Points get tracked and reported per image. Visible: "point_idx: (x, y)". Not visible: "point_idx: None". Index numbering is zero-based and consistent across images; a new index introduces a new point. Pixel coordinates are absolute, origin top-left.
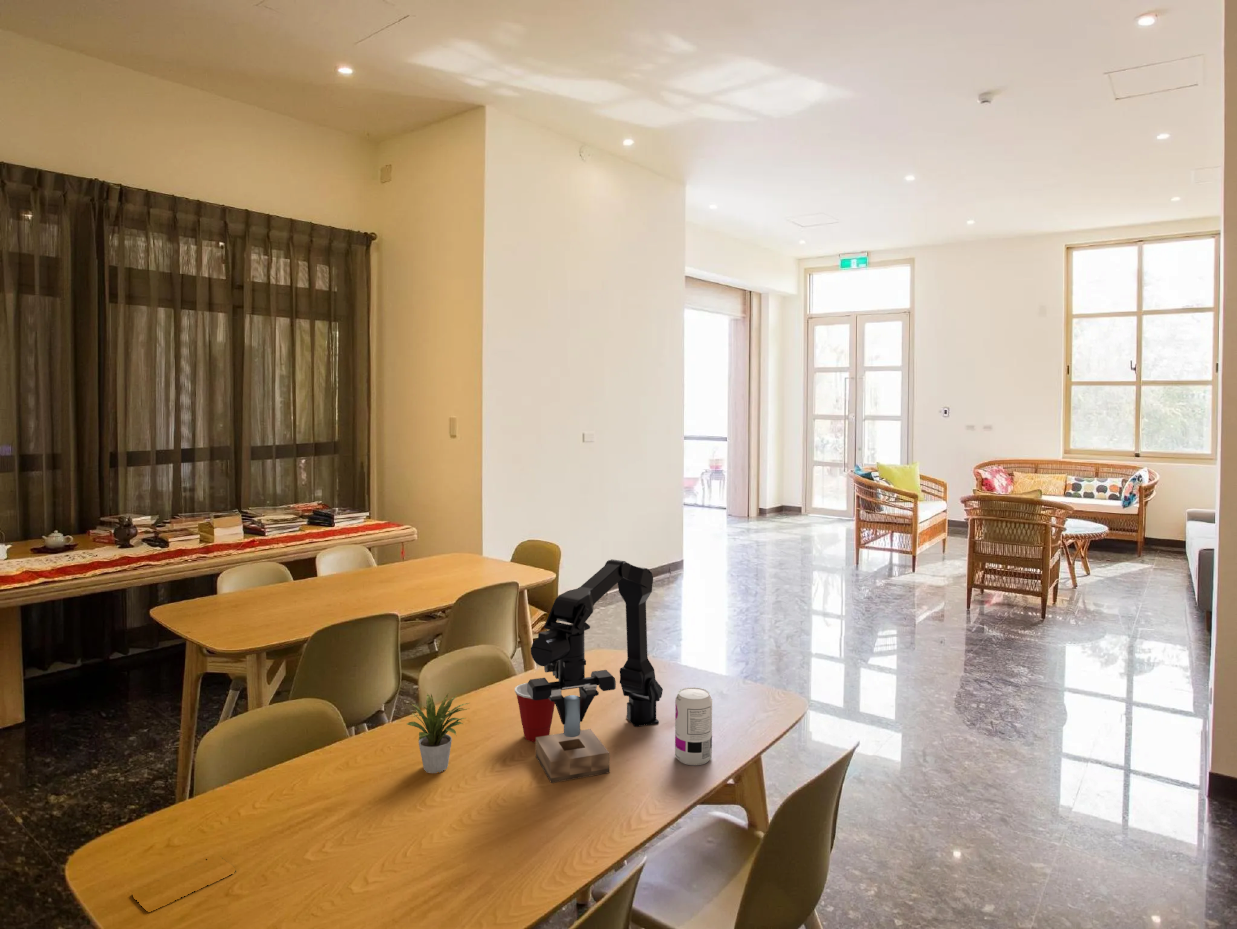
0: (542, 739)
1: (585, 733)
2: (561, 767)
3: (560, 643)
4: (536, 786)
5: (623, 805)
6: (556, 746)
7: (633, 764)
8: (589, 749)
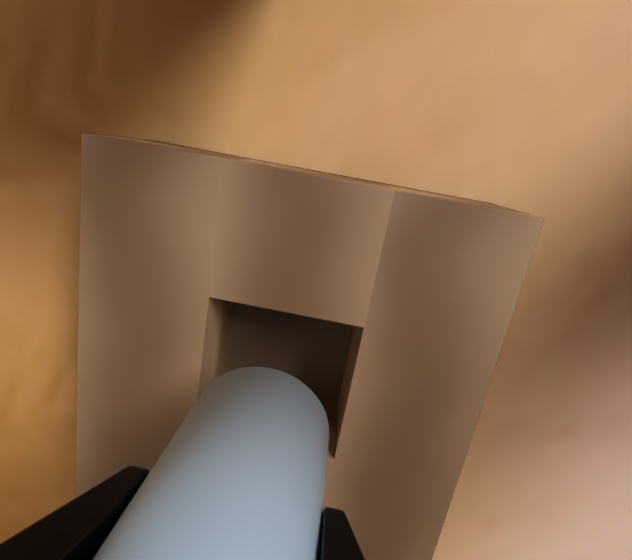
0: (119, 199)
1: (455, 276)
2: None
3: None
4: (69, 420)
5: None
6: (171, 353)
7: (558, 479)
8: (343, 490)
